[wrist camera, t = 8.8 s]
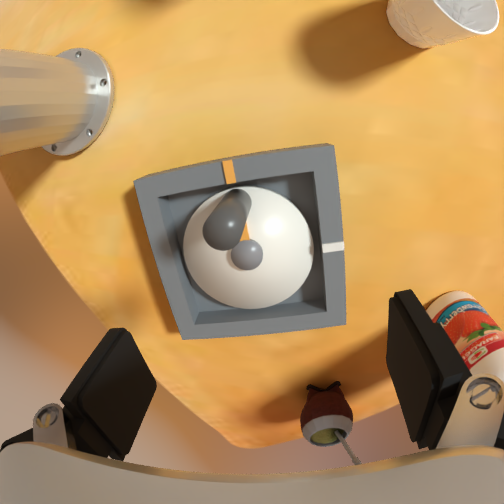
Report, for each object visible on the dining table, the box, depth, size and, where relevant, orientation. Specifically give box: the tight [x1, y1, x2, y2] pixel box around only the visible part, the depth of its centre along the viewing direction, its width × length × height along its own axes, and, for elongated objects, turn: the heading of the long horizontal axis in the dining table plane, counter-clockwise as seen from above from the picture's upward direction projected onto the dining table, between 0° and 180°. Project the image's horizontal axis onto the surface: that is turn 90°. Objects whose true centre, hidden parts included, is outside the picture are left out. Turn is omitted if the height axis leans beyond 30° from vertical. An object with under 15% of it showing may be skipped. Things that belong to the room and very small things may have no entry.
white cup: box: [386, 0, 499, 49], centre depth 16 cm, size 8×8×10 cm
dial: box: [183, 185, 314, 309], centre depth 26 cm, size 13×13×9 cm
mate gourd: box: [300, 381, 362, 465], centre depth 32 cm, size 8×8×15 cm
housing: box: [134, 143, 346, 340], centre depth 30 cm, size 18×18×4 cm
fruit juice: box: [426, 291, 504, 383], centre depth 20 cm, size 9×9×28 cm
